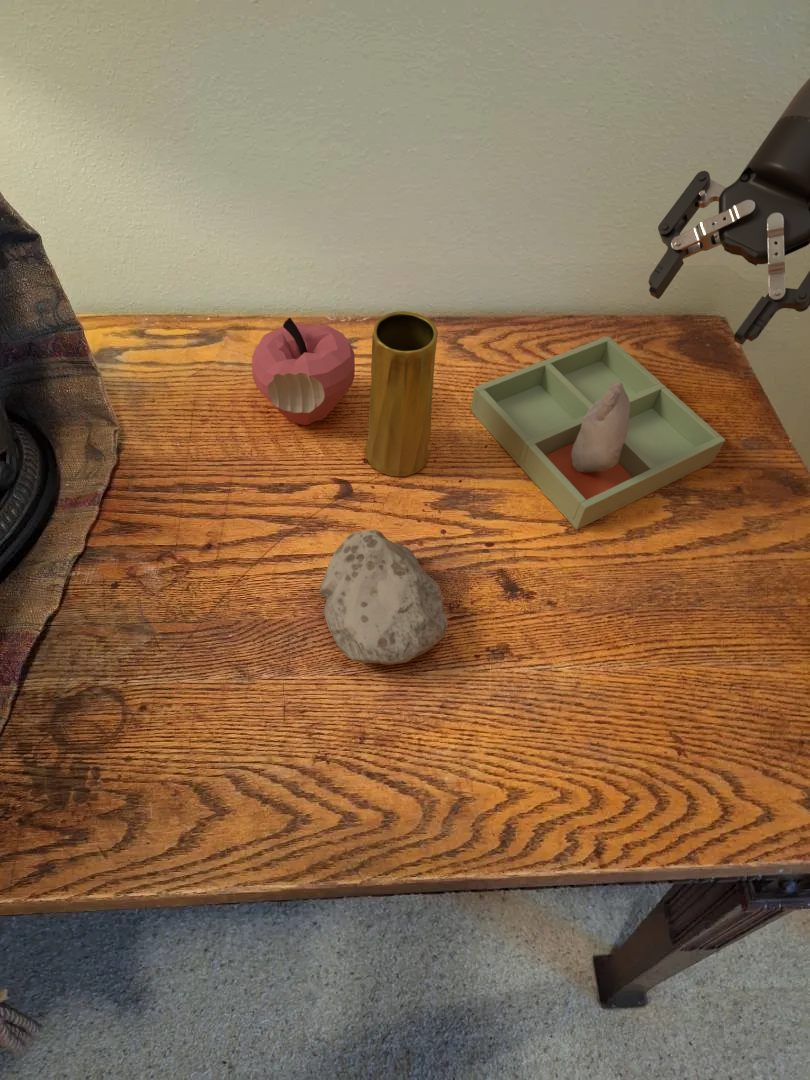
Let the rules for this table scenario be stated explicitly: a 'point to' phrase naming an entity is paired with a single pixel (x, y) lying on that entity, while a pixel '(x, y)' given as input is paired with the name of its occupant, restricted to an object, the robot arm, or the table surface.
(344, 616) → the decorative stone
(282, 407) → the apple
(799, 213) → the robot arm
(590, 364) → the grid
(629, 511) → the table surface
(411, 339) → the vase
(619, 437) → the grey brown rock
